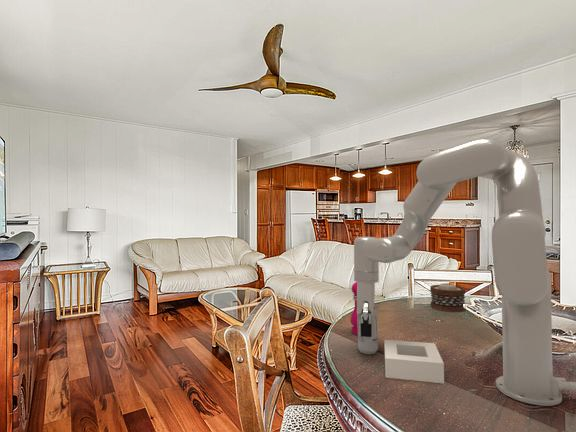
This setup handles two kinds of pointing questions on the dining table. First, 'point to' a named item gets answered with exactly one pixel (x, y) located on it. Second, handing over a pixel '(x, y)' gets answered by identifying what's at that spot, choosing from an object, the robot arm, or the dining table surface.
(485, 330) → the dining table surface
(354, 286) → the pepper mill
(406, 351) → the socket block
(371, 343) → the energy drink can
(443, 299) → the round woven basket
